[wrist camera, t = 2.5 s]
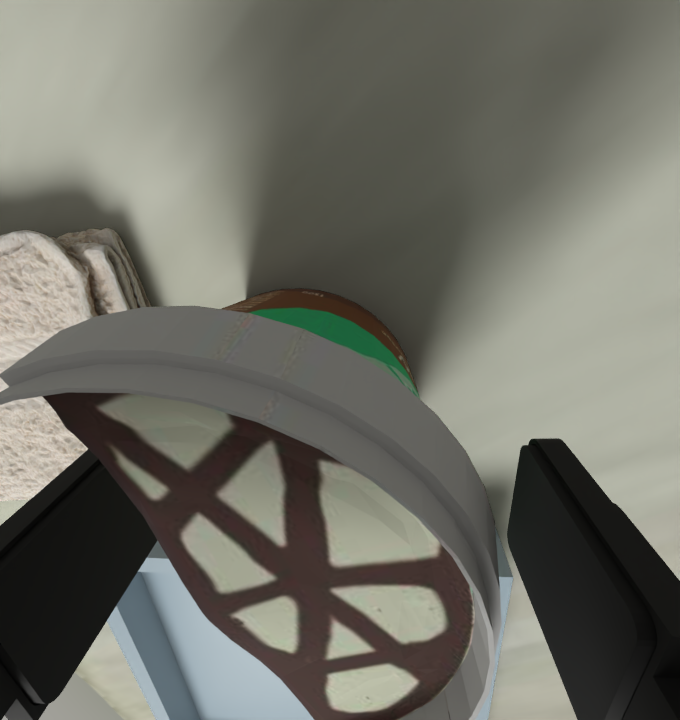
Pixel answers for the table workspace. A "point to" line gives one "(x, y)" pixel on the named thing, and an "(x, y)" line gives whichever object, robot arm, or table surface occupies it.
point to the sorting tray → (211, 653)
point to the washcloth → (39, 323)
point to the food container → (294, 492)
